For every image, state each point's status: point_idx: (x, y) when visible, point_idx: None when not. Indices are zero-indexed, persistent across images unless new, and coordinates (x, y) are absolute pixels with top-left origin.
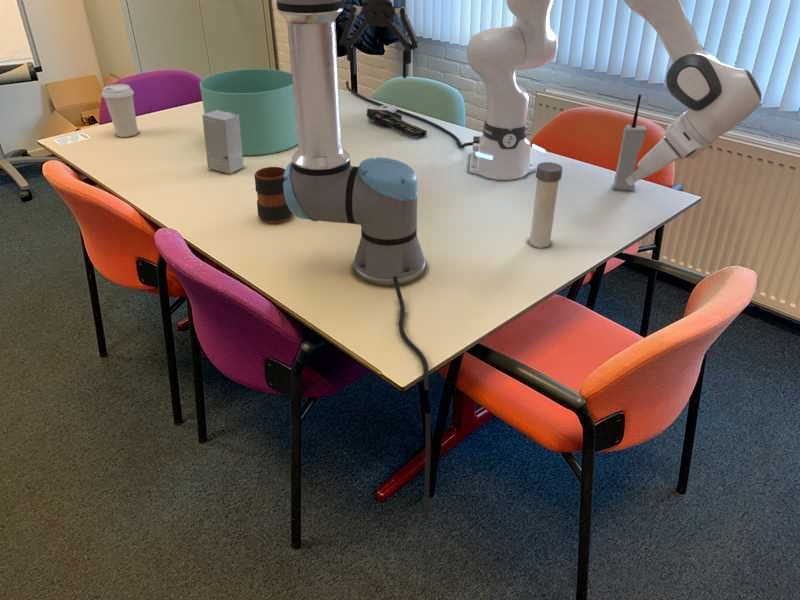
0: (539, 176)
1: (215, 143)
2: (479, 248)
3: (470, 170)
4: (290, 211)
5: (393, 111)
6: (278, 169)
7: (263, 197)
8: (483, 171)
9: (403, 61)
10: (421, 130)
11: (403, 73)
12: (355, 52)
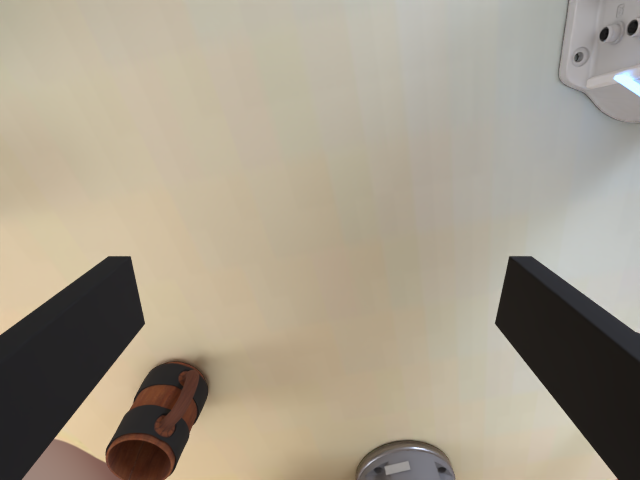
0: None
1: None
2: (534, 412)
3: (565, 80)
4: (205, 399)
5: None
6: (140, 435)
7: (155, 445)
8: (604, 100)
9: (572, 414)
10: None
11: (514, 343)
12: (12, 390)
